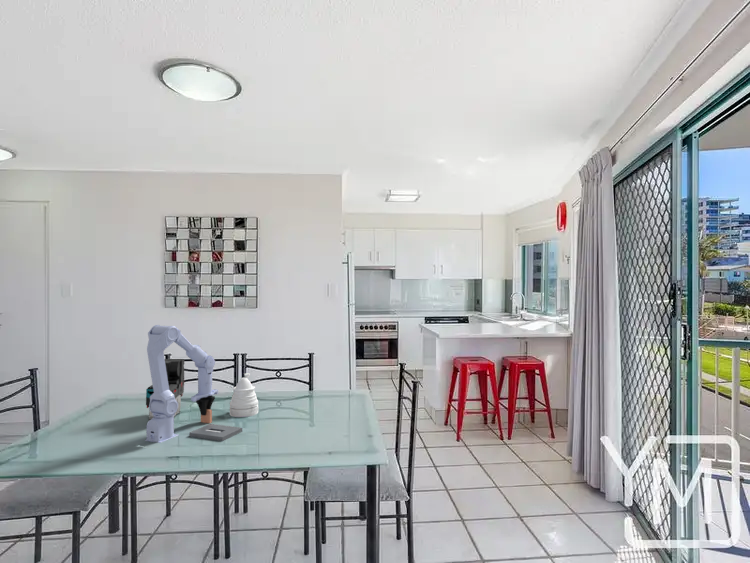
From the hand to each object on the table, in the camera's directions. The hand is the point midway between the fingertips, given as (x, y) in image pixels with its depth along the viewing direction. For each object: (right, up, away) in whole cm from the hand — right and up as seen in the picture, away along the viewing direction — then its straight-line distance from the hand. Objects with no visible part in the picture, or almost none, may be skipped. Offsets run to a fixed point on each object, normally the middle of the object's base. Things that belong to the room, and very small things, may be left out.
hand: (205, 414), depth 199 cm
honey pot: (+12, -4, +16) cm, 20 cm away
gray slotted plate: (+10, -4, -16) cm, 19 cm away
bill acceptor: (-21, -4, +9) cm, 23 cm away
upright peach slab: (0, -4, 0) cm, 4 cm away
